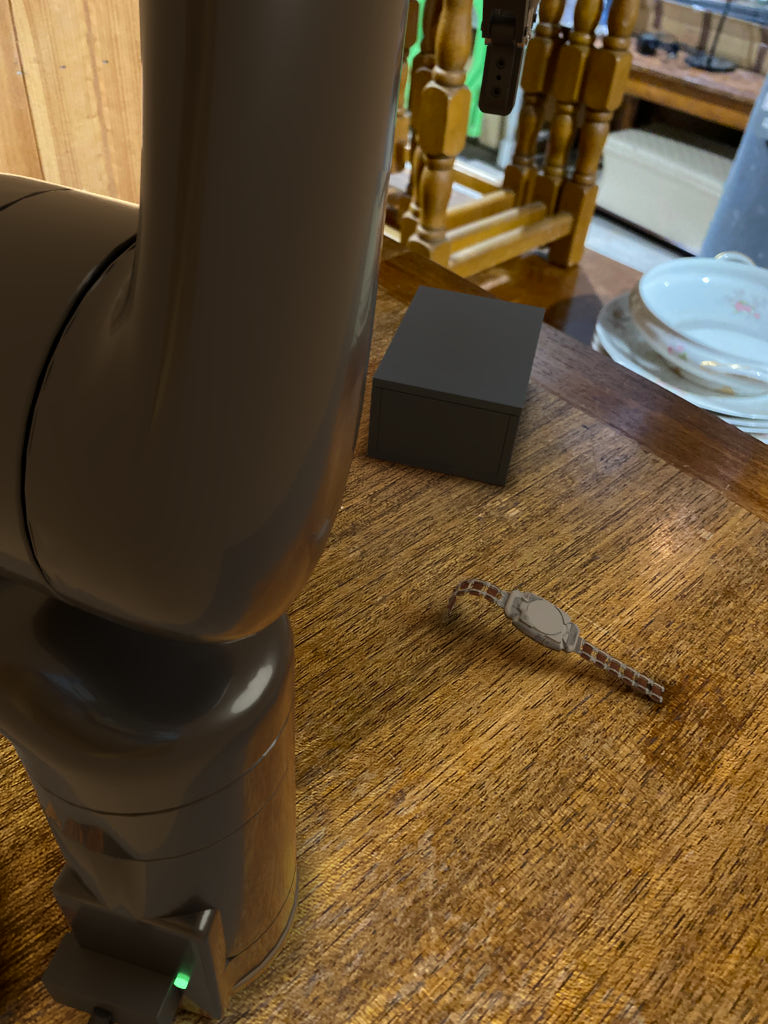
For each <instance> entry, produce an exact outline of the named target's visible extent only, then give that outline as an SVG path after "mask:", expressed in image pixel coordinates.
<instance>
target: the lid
mask: <svg viewBox="0 0 768 1024" xmlns="http://www.w3.org/2000/svg"><path fill="white" fill-rule="evenodd" d="M545 313H546V307H540V306H536V305H535V306H534V305H529V304H523V303H520V302H519V303H518V302H513V301H507V300H502V299H498V298H496V299H495V298H492V297H487V296H480V295H476V294H475V295H474V294H469V293H465V292H459V291H455V290H447V289H442V288H437V287H433V286H432V287H431V286H425V285H419V286H418V288H417V290H416V291H415V294H414V296H413V298H412V299H411V301H410V303H409V306H408V307H407V309H406V311H405V313H404V315H403V317H402V319H401V321H400V323H399V325H398V326H397V329H396V331H395V333H394V334H393V337H392V339H391V340H390V342H389V344H388V347H387V348H386V350H385V352H384V354H383V356H382V358H381V360H380V362H379V364H378V365H377V368H376V370H375V372H374V374H373V376H372V378H371V379H372V380H371V387H372V386H375V387H380V388H385V389H389V390H394V391H399V392H404V393H409V394H414V395H419V396H424V397H429V398H433V399H438V400H443V401H448V402H453V403H458V404H463V405H468V406H473V407H477V408H482V409H487V410H492V411H497V412H502V413H507V414H512V415H517V416H521V417H522V413H523V409H524V405H525V402H526V401H525V400H526V396H527V392H528V387H529V384H530V380H531V374H532V371H533V365H534V361H535V356H536V354H537V353H536V352H537V348H538V344H539V339H540V335H541V330H542V326H543V322H544V317H545ZM528 383H529V384H528Z"/></svg>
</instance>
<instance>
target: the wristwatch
mask: <svg viewBox="0 0 768 1024" xmlns="http://www.w3.org/2000/svg"><path fill="white" fill-rule="evenodd" d="M471 585H472V586H471ZM483 587H484V589H483ZM486 588H487V590H486ZM467 593H468V595H470V596H474V597H480V596H483V599H485V601H487V602H489V603H491V604H494V603H495V604H496V605H497V607H499V608H501V609H502V611H503V615H504V617H505V618H506V619H507V620H510V621H511V625H512V626H513V627H514V628H516V630H518V632H520V633H521V634H522V635H524V636H525V637H527V638H528V639H529V640H532V641H533V642H535V643H536V644H537V645H540V646H542V647H544V648H545V649H549V650H551V651H554V652H557V653H560V652H561V651H562V652H563V653H565V654H571V653H575V654H577V655H579V656H580V658H581V659H583V660H585V661H587V662H592V663H593V665H594V666H595V667H596V668H598V669H600V670H606V671H607V673H608V674H609V676H611V677H614V678H616V679H617V678H619V679H620V680H621V682H622V683H623V684H625V685H627V686H628V687H634V688H635V690H636V691H637V692H638V693H640V694H642V695H647V696H648V697H649V699H651V700H652V701H654V702H656V703H658V704H659V703H663V700H664V699H663V697H662V695H661V693H663V692H665V687H664V685H662V684H661V683H659V682H657V681H655V680H651V678H650V677H648V676H647V675H646V674H645V673H642V672H641V671H637V670H636V669H635V668H633V666H630V665H628V664H627V663H623V661H622V660H620V659H619V658H617V657H616V656H613V655H610V654H609V653H608V652H607V651H605V650H603V649H602V648H599V647H596V645H595V644H593V643H591V642H590V641H588V640H586V639H584V637H582V636H580V633H581V630H580V627H579V626H578V625H577V623H574V622H572V621H571V620H572V617H571V616H570V615H569V613H567V612H566V611H564V610H562V609H561V608H559V607H558V606H557V605H555V604H553V603H552V602H551V601H549V600H547V599H545V598H543V597H541V596H539V595H537V594H536V593H534V592H530V591H527V590H524V592H522V591H521V590H519V589H514V590H511V592H508V591H506V590H505V589H504V590H502V589H501V587H498V586H497V585H496V584H494V583H491V582H488V581H486V580H484V579H479V578H473V579H471V578H469V579H466V580H465V579H464V580H462V581H460V582H459V583H458V584H457V585H455V586H454V587H453V588H452V592H451V595H450V596H449V597H448V600H447V603H446V609H447V612H446V614H445V615H444V616H443V620H442V623H443V624H446V623H447V622H448V621H449V619H450V616H451V614H452V612H453V610H454V608H455V606H456V602H457V599H458V598H457V597H462V596H464V595H465V594H467ZM497 594H499V595H500V596H501V597H500V598H499V599H498V598H497ZM592 652H593V654H592ZM620 668H621V669H620ZM634 676H635V678H634ZM636 681H637V682H636ZM647 686H648V687H647ZM650 689H651V690H650Z"/></svg>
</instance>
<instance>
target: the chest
mask: <svg viewBox="0 0 768 1024" xmlns="http://www.w3.org/2000/svg"><path fill="white" fill-rule="evenodd" d="M529 384H530V382H529V383H528V385H529ZM370 393H371V394H370V406H369V407H370V408H369V420H368V432H367V433H368V435H367V449H366V457H368V458H372V459H377V460H381V461H385V462H391V463H395V464H399V465H404V466H410V467H413V468H418V469H423V470H426V471H427V470H428V471H432V472H436V473H441V474H446V475H450V476H455V477H459V478H464V479H467V480H473V481H477V482H481V483H487V484H492V485H496V486H500V487H506V484H507V480H508V476H509V471H510V467H511V462H512V458H513V454H514V450H515V445H516V440H517V436H518V431H519V427H520V423H521V418H522V415H521V416H517V415H512V414H507V413H502V412H497V411H492V410H487V409H482V408H477V407H473V406H468V405H463V404H458V403H453V402H448V401H443V400H438V399H433V398H429V397H424V396H419V395H414V394H409V393H404V392H399V391H394V390H389V389H385V388H380V387H375V386H372V385H371V391H370Z"/></svg>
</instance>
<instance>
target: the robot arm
mask: <svg viewBox="0 0 768 1024" xmlns="http://www.w3.org/2000/svg"><path fill="white" fill-rule="evenodd" d="M540 2H541V0H482V14H481V15H482V16H481V22H480V29H479V30H480V31H481V39H484V43H483V44H484V46H486V49H485V57H484V62H483V70H482V77H481V84H480V91H479V98H478V104H477V105H478V109H479V111H480V112H481V113H483V114H489V115H494V116H501V117H508V116H509V115H510V114H511V113H512V111H513V110H514V108H515V107H516V101H517V96H518V89H519V83H520V78H521V71H522V67H523V60H524V54H525V50H526V49H525V48H526V47H527V46H528V45H529V40H531V39H532V35H533V27H534V24H536V23H537V19H538V13H537V10H538V6H539V3H540ZM409 9H410V0H138V15H139V19H138V20H139V38H140V39H139V42H140V43H139V45H140V46H139V47H140V86H141V87H140V88H141V89H140V90H141V91H140V93H141V94H140V96H141V97H140V98H141V99H140V100H141V103H140V108H141V109H140V110H141V113H140V115H141V120H140V121H141V122H140V124H141V126H140V127H141V129H140V130H141V131H140V132H141V135H140V137H141V138H140V140H141V144H140V145H141V146H140V147H141V149H140V151H141V152H140V175H139V176H140V177H139V178H140V179H139V201H138V203H139V204H138V203H133V202H130V201H126V200H122V199H120V198H119V199H118V198H115V197H112V196H111V197H110V196H107V195H103V194H98V193H94V192H90V191H86V190H82V189H78V188H75V187H71V186H66V185H64V184H63V185H62V184H58V183H55V182H50V181H47V180H43V179H39V178H35V177H31V176H25V175H20V174H14V173H10V172H1V171H0V734H1V735H2V736H3V737H4V738H5V739H6V740H7V741H9V742H10V743H11V744H12V745H13V748H14V750H15V752H16V755H17V756H18V758H19V760H20V762H21V765H22V766H23V769H24V771H25V773H26V775H27V778H28V781H29V782H30V784H31V787H32V789H33V791H34V793H35V796H36V799H37V801H38V803H39V805H40V807H41V810H42V812H43V814H44V816H45V819H46V821H47V824H48V825H49V828H50V830H51V832H52V834H53V836H54V839H55V841H56V843H57V846H58V847H59V850H60V852H61V855H62V857H63V859H64V861H65V863H64V865H63V867H62V869H61V871H60V872H59V874H58V876H57V878H56V879H55V881H54V883H53V884H52V888H51V892H52V896H53V897H54V899H55V901H56V904H57V905H58V907H59V909H60V911H61V913H62V915H63V917H64V920H65V921H66V923H67V925H68V927H69V928H70V931H71V932H70V931H66V932H65V933H64V935H63V937H62V939H61V941H60V942H59V944H58V946H57V948H56V950H55V952H54V954H53V956H52V957H51V959H50V961H49V963H48V965H47V967H46V969H45V970H44V972H43V974H42V976H41V978H40V982H41V983H42V985H43V986H44V988H45V989H46V991H47V992H48V994H49V995H50V997H51V998H52V1000H53V1002H54V1003H57V1004H60V1005H63V1006H67V1007H69V1008H72V1009H74V1010H77V1011H80V1012H84V1013H85V1014H90V1016H89V1019H88V1021H87V1024H172V1022H173V1020H174V1018H175V1015H176V1013H177V1011H178V1008H179V1009H182V1010H185V1011H187V1012H190V1013H193V1014H196V1015H199V1016H202V1017H206V1018H208V1019H212V1020H215V1021H221V1020H222V1019H224V1018H225V1016H226V1014H227V1011H228V1008H229V1006H230V1003H231V1001H232V999H233V997H234V996H235V994H237V993H239V992H240V991H242V990H244V989H245V988H246V987H248V986H250V985H251V984H252V983H253V982H255V981H256V980H257V979H258V978H259V977H261V975H263V973H264V972H266V970H267V969H268V968H269V967H270V966H271V965H272V964H273V962H274V961H275V960H276V958H277V957H278V956H279V954H280V953H281V951H282V949H283V948H284V946H285V945H286V943H287V940H288V938H289V937H290V935H291V932H292V929H293V927H294V924H295V920H296V917H297V912H298V907H299V899H300V885H299V884H300V876H299V867H298V861H297V859H298V858H297V857H298V856H297V794H296V792H297V791H296V790H297V789H296V785H297V781H296V780H297V779H296V648H295V638H294V637H295V636H294V631H293V625H292V621H291V618H290V616H289V613H288V609H289V608H290V607H291V606H292V604H293V603H294V602H295V601H296V599H297V597H298V596H299V595H300V594H301V592H302V591H303V590H304V588H306V585H307V584H308V582H309V580H310V579H311V576H312V575H313V572H314V571H315V569H316V567H317V565H318V563H319V561H320V560H321V557H322V556H323V554H324V551H325V549H326V546H327V544H328V541H329V539H330V536H331V533H332V531H333V528H334V525H335V522H336V520H337V517H338V515H339V511H340V508H341V506H342V503H343V499H344V497H345V496H344V495H345V491H346V488H347V484H348V480H349V476H350V473H351V468H352V464H353V460H354V455H355V451H356V447H357V444H358V443H357V442H358V437H359V431H360V426H361V422H362V421H361V420H362V415H363V410H364V401H365V396H366V395H365V394H366V386H367V379H368V371H369V364H370V357H371V356H370V355H371V349H372V340H373V333H374V326H375V317H376V307H377V299H378V298H377V297H378V288H379V281H380V279H379V278H380V269H381V262H382V252H383V244H384V234H385V225H386V217H387V207H388V200H389V199H388V198H389V189H390V179H391V171H392V161H393V152H394V144H395V135H396V124H397V117H398V108H399V99H400V89H401V80H402V71H403V61H404V54H405V46H406V45H405V44H406V38H407V37H406V36H407V35H406V34H407V27H408V19H409V18H408V17H409Z"/></svg>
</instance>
